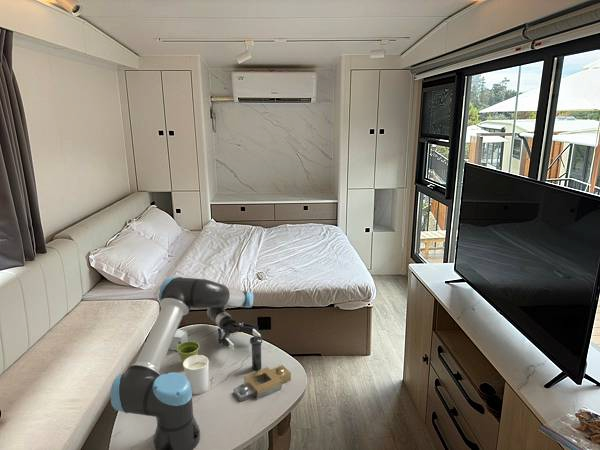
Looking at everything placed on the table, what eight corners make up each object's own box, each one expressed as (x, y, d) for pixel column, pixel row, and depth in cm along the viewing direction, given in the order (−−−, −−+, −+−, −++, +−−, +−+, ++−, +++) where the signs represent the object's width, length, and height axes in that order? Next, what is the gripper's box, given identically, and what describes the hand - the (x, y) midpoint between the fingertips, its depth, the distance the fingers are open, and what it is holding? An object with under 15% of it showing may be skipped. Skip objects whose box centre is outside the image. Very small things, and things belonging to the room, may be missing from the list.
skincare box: (170, 349, 194) (168, 335, 192) (176, 342, 200) (175, 329, 198) (182, 351, 193) (180, 337, 191) (188, 344, 198) (187, 330, 196)
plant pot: (197, 371, 179) (196, 353, 176) (175, 370, 179) (174, 353, 176) (203, 358, 188) (201, 341, 185) (182, 358, 188) (180, 341, 185)
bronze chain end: (257, 399, 162) (257, 389, 161) (244, 383, 170) (243, 375, 169) (293, 382, 171) (293, 374, 170) (279, 369, 180) (279, 360, 179)
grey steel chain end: (243, 405, 159) (243, 398, 158) (230, 389, 167) (230, 383, 166) (281, 388, 168) (281, 382, 167) (267, 374, 177) (267, 368, 176)
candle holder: (180, 391, 166) (177, 365, 163) (196, 377, 174) (194, 352, 171) (199, 399, 162) (197, 372, 158) (215, 384, 170) (213, 358, 167)
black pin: (254, 373, 177) (253, 344, 173) (248, 367, 181) (247, 338, 178) (265, 368, 180) (264, 340, 176) (259, 363, 184) (258, 334, 180)
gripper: (249, 322, 210) (271, 341, 194) (202, 337, 197) (221, 359, 180) (248, 308, 208) (270, 326, 192) (201, 323, 194) (220, 343, 178)
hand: (246, 342), depth 186 cm, fingers open, 13 cm apart
